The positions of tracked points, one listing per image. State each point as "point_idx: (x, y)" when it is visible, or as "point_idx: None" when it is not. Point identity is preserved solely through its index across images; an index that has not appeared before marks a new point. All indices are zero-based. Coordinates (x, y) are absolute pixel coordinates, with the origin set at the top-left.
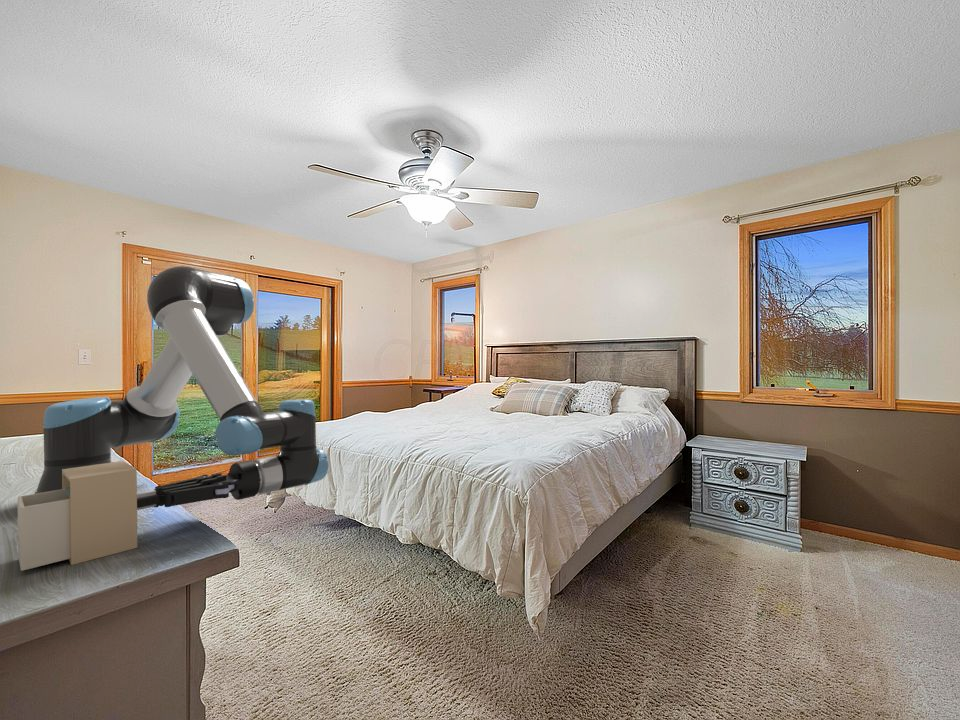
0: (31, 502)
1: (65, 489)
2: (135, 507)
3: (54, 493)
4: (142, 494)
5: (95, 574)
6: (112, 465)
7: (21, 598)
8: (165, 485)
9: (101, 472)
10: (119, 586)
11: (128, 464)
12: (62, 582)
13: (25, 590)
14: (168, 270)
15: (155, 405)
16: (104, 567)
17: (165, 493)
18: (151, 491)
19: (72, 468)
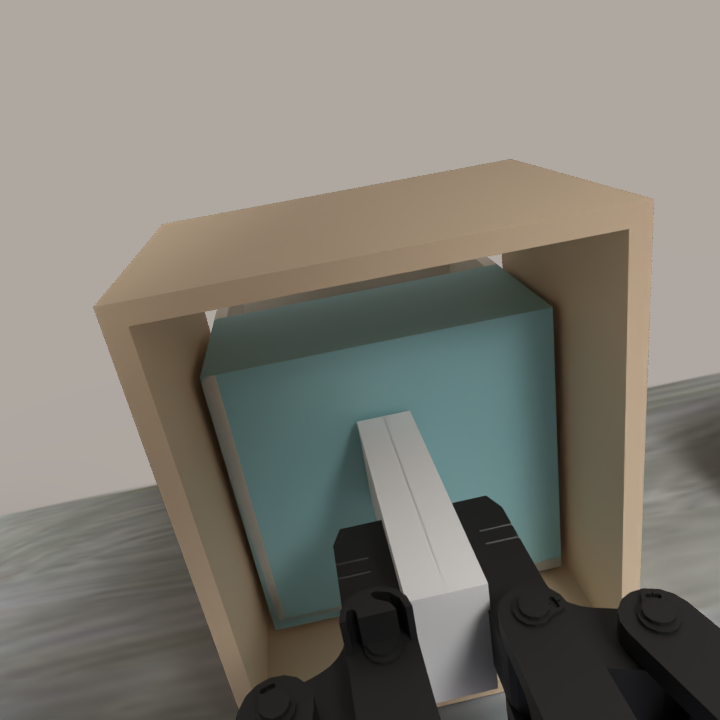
0: (455, 270)
1: (483, 267)
2: (189, 559)
3: (473, 267)
4: (389, 537)
5: (61, 631)
6: (442, 215)
7: (86, 511)
8: (699, 669)
9: (205, 241)
10: None
11: (394, 247)
12: (101, 562)
13: (141, 505)
14: None
15: None
16: (107, 648)
17: (256, 685)
18: (416, 574)
19: (502, 167)
